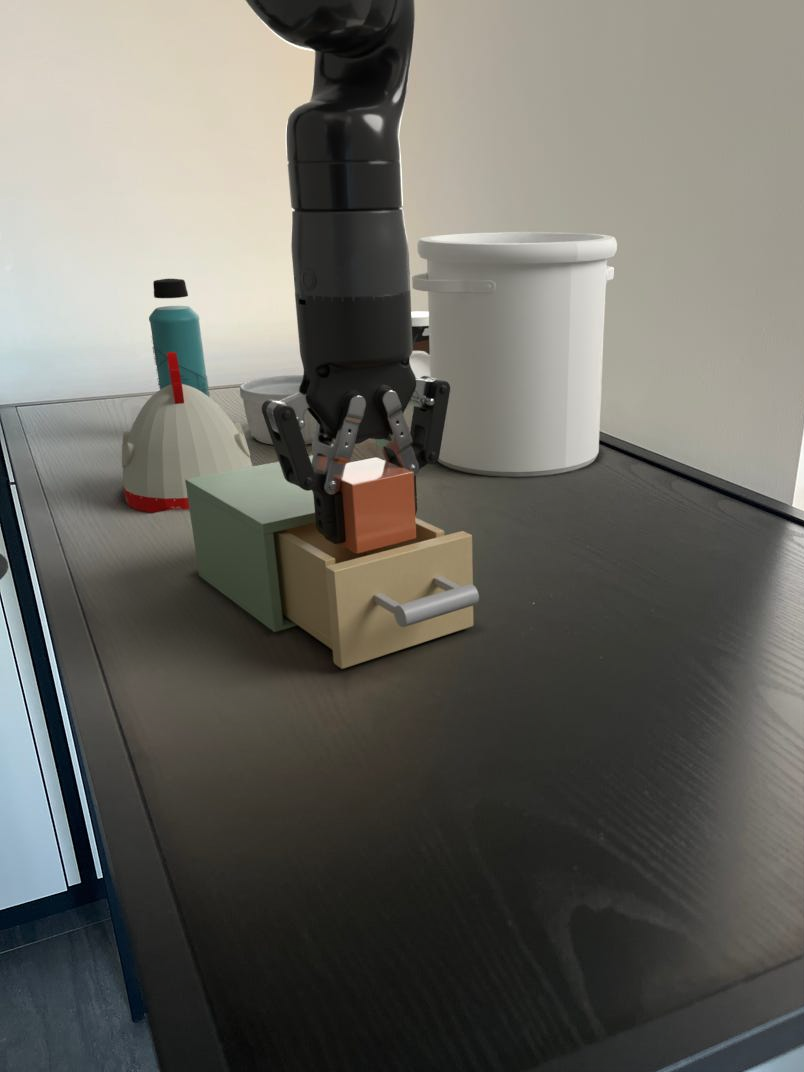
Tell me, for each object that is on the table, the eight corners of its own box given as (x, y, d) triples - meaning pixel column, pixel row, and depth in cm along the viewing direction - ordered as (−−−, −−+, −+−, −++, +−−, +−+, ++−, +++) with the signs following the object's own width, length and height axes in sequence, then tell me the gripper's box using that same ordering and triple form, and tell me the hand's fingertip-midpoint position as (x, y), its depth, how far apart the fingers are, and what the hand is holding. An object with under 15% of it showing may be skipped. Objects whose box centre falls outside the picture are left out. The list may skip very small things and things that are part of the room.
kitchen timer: (248, 471, 115) (233, 340, 108) (263, 505, 103) (247, 360, 97) (125, 483, 111) (102, 348, 105) (126, 520, 99) (100, 370, 93)
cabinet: (413, 597, 81) (408, 491, 77) (275, 638, 74) (262, 524, 70) (327, 549, 91) (319, 453, 87) (199, 580, 84) (184, 479, 80)
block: (357, 554, 68) (352, 484, 65) (322, 535, 71) (316, 468, 69) (416, 538, 70) (413, 471, 68) (380, 521, 74) (376, 456, 72)
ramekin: (351, 424, 136) (348, 373, 133) (337, 449, 124) (333, 394, 121) (257, 424, 136) (252, 374, 133) (234, 449, 124) (227, 394, 121)
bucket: (546, 426, 134) (550, 228, 123) (655, 462, 117) (671, 237, 106) (380, 453, 122) (369, 237, 111) (475, 498, 105) (472, 248, 94)
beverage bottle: (209, 428, 135) (188, 275, 126) (221, 438, 129) (201, 279, 121) (161, 434, 132) (136, 277, 123) (172, 445, 127) (147, 282, 118)
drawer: (509, 646, 70) (510, 551, 67) (374, 693, 64) (367, 591, 61) (379, 573, 83) (374, 491, 80) (256, 607, 77) (246, 519, 74)
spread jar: (431, 382, 162) (429, 309, 157) (472, 392, 154) (471, 316, 149) (370, 391, 156) (366, 315, 151) (410, 403, 148) (407, 323, 143)
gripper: (412, 273, 70) (421, 501, 77) (225, 288, 62) (255, 540, 69) (475, 281, 64) (478, 525, 72) (278, 299, 57) (304, 570, 64)
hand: (368, 531), depth 71 cm, fingers closed on block, 5 cm apart
